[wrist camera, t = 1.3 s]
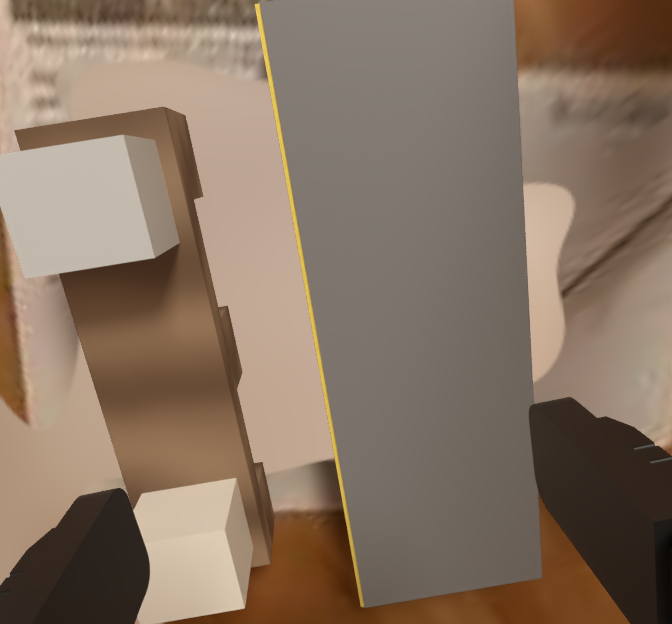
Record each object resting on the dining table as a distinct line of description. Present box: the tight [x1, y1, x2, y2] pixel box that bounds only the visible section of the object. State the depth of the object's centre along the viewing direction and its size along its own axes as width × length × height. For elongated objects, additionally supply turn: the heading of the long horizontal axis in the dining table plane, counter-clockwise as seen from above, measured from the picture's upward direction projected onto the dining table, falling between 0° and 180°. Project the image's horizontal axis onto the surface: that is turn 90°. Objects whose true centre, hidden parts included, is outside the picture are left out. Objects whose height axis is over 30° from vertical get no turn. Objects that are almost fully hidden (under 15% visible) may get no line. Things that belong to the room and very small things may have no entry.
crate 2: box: [133, 478, 253, 624], centre depth 26 cm, size 4×5×4 cm
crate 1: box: [0, 135, 180, 279], centre depth 21 cm, size 4×5×4 cm
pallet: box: [14, 107, 275, 568], centre depth 27 cm, size 24×6×4 cm, turn 9°
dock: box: [255, 0, 542, 608], centre depth 27 cm, size 30×10×5 cm, turn 9°
